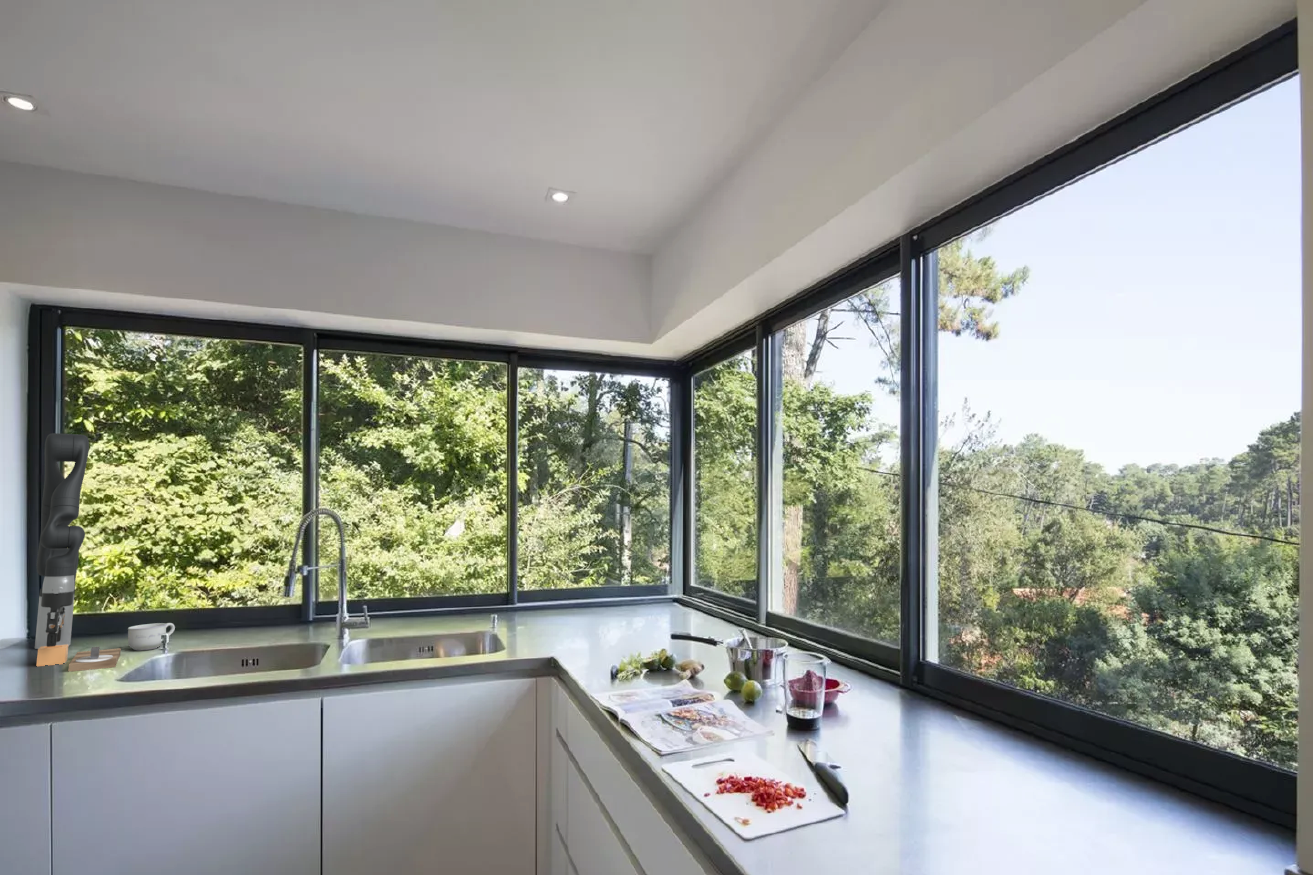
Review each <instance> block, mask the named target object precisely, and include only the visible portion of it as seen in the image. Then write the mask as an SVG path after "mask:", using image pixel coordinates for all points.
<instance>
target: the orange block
mask: <svg viewBox="0 0 1313 875" xmlns="http://www.w3.org/2000/svg"><path fill="white" fill-rule="evenodd" d="M68 652H69V646H68V644H67V645H56V646H52V647H47V646H41V647H40V648H39V649H37V656H36V657H37V658H36V666H37V667H45V665H48V666H56V665H55V664H59V665H64V664H63V663H65V662H66V663H67V661H68V655H69V654H68ZM66 663H65V664H66Z"/></svg>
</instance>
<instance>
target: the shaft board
mask: <svg viewBox="0 0 1313 875" xmlns="http://www.w3.org/2000/svg"><path fill="white" fill-rule="evenodd" d="M100 648H101V647H100V646H92V647H91V649H90V650H85V651H77V652H76V653H75V655H74V657H73V658H72V659H71V661H70V662H69V664H68V670H67V671H68V672H69V671H70V672H76V671H77V672H78V671H90V670H89V669H91V670H100V669H109V668H116V666H117V664H118V662H119V659H120V657H121V654H122V652H121V650H122V648H118V647H117V648H110V649H109V648H107V649H100Z"/></svg>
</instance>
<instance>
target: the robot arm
mask: <svg viewBox="0 0 1313 875" xmlns="http://www.w3.org/2000/svg"><path fill="white" fill-rule="evenodd" d="M89 450H90V442H89V438H88V436H86V435H84V434H80V433H79V434H76V433H60V432H59V433H57V432H56V433H55V432H53V433H49V434H48V435H47V436H46V439H45V442H44V483H43V491H42V492H43V493H42V499H41V500H42V501H41V514H40V515H41V519H40V520H41V521H40V525H41V526H40V536H39V542H38V549H37V558H36V566H35V567H36V572H37V574H38V575H39V576H41V577H44V579H43V583H42V587H41V588H40V589H39V595H38V596H39V597H38V608H37V609H38V610H37V619H36V620H37V621H36V632H35V640H34V641H35V642H34V649H35V650H38V649H39V648H40V647H41V646H47V647H52V646H56V645H67V644H68V647H69V646H71V639H72V627H73V619H74V618H73V616H74V608H75V607H74V604H75V595H76V594H75V592H76V581H77V580H76V578H77V573H78V565H79V560H80V559H79V557H80V556H79V551H80V549H81V547H82V546H83V543H84V540H85V537H86V532H85V530H84V528H83V527H82V526H80V525H71V524H72V522H73V521H75V520H77V519H78V517H79V515H80V502H81V492H82V491H81V490H82V487H83V482H84V477H85V473H86V470H87V469H86V467H87V464H88V463H87V462H88V458H89V452H90V451H89ZM58 462H59V463H61V462H64V463H66V462H67V463H70V462H72V463H74V465H73V467H72V470H71V471H70V472H69V474H67V476H66V477H64V475H63V474H62V471H61V470H60V468H59V465H58Z"/></svg>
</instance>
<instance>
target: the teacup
mask: <svg viewBox="0 0 1313 875" xmlns="http://www.w3.org/2000/svg"><path fill="white" fill-rule="evenodd" d="M168 627H170V630H169V631H168V632H167V628H168ZM175 628H176V626H175V624H174V623H172V622H167V623H163V622H161V623H160V622H157V623H155V622H154V623H147V624H139V625H132V626H129V627H128V628H127V630H128V631H127V644H128V646H129V647H130V648H132V649H133V650H134V651H148V650H154V649H158V648H160V647H161V645H162V644H161V635H163V634H168V635H169V636H171V635H172V634H174V632H175ZM169 636H168V637H169ZM159 646H160V647H159ZM157 647H158V648H157Z"/></svg>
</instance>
